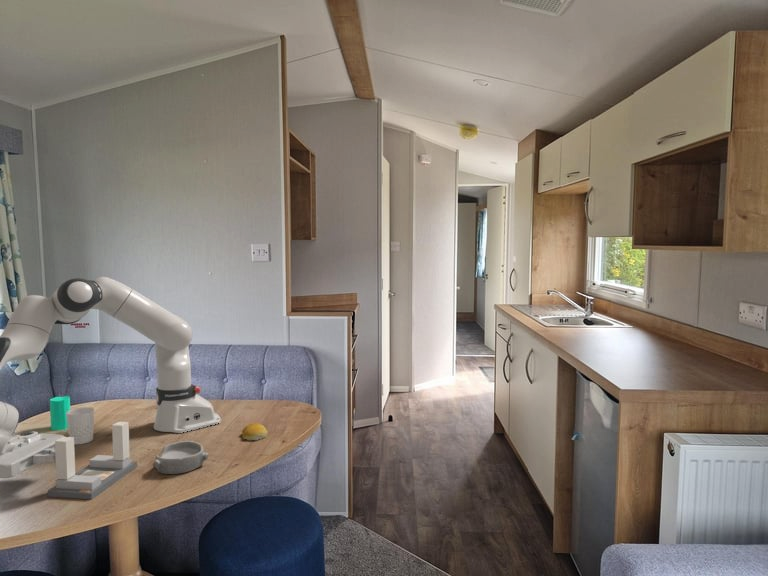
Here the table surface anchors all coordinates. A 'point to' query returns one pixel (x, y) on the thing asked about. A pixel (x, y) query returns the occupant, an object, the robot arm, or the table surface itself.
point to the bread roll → (254, 431)
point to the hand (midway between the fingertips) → (57, 456)
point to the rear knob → (120, 440)
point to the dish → (180, 457)
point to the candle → (59, 412)
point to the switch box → (93, 478)
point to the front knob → (65, 457)
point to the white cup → (80, 424)
